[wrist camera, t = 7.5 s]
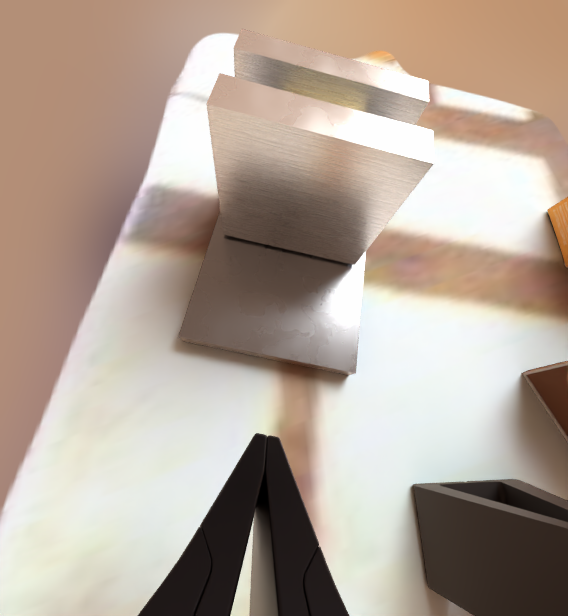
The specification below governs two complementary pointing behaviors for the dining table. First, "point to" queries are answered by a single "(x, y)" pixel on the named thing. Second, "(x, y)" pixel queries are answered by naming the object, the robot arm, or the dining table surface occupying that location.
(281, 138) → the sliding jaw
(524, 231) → the dining table surface
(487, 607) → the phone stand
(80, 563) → the dining table surface
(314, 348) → the vise base
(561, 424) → the brown cake slice
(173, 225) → the dining table surface
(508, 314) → the dining table surface
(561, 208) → the small box
